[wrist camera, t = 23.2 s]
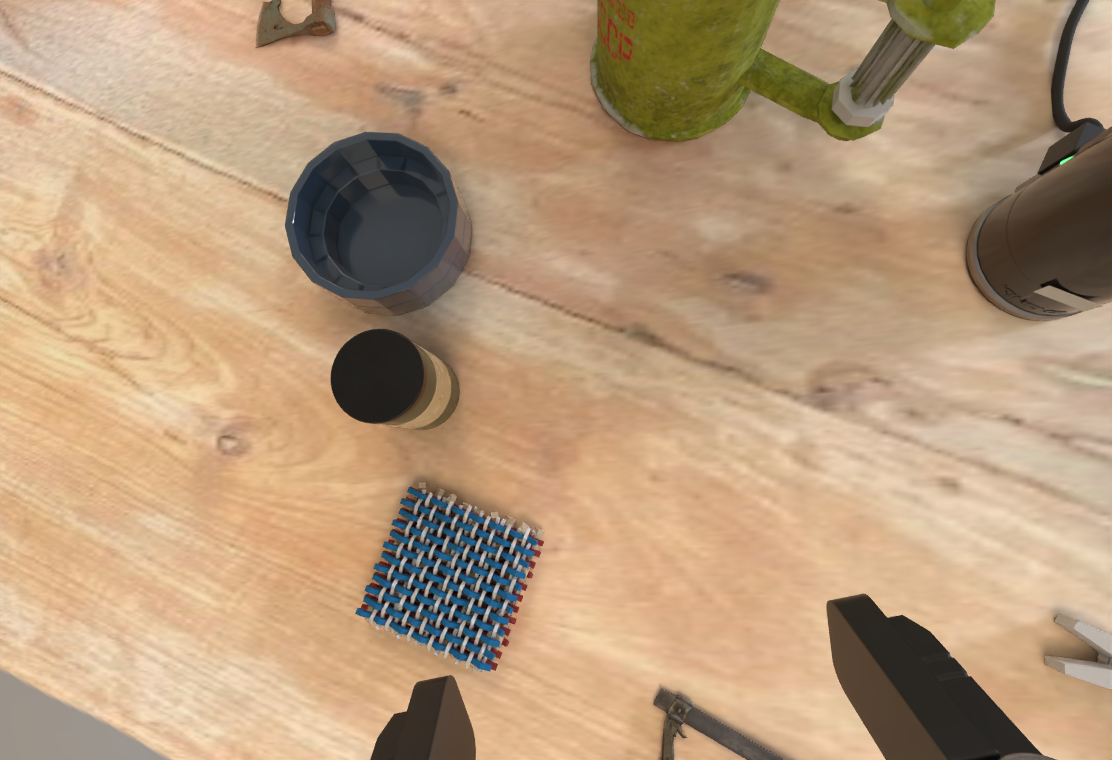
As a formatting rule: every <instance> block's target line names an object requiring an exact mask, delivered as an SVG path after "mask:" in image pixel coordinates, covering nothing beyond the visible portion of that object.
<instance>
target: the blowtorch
mask: <svg viewBox="0 0 1112 760" xmlns="http://www.w3.org/2000/svg"><path fill="white" fill-rule="evenodd" d="M779 1H780V0H598V37H597V39H596V41H595V43H594V46H593V49H592V55H591V62H590V68H591V84H592V86H593V88H594V90H595V92H596V94H597V96H598V98H599V100H600V102H601V104H602V106H603V108H604V110H605V111H606V112H607V113H608V114H609V115H611V116H612V117H613V118H614V119H615V120H616V121H617V122H618V123H619V124H620V125H621V126H622V127H624V128H625V129H626V130H627V131H629V132H632V133H634V134H637V135H639V136H642V137H644V138H647V139H653V140H666V141H683V140H690V139H697V138H698V137H700V136H702V135H704V134H706V133H708V132H710V131H712V130H714V129H716V128H718V127H720V126H722V125H723V124H725V123H726V122H727V121H728V120H730V119H731V118H732V117H733V116H734V115H735V114H736V113H737V112H738V111H739V110H740V109H741V108H742V106H743V104H744V102H745V100H746V98H747V96H748V94H749V92H750V90H752V91H754V92H756V93H758V94H760V95H762V96H764V97H766V98H768V99H770V100H772V101H774V102H775V103H777V104H779V105H781V106H783V107H785V108H787V109H789V110H791V111H793V112H795V113H797V114H798V115H800V116H802V117H804V118H807V119H810V120H813V121H815V122H818V123H819V125H820V126H821V127H822V128H823V129H824V130H825V131H826V132H827V134H828V135H830V136H832V137H834V138H836V139H838V140H843V141H848V140H853V141H854V140H856V139H859V138H862V137H864V136H866V135H869V134H871V133H873V132H875V131H877V130H879V129H881V126H882V123H883V119H884V116H885V114H886V113H887V112H888V111H889V110H890V108H891V107H892V106H893V102H894V94H895V93H896V92H897V90H898V89H899V88H900V87H901V86H902V84H903V83H904V82H905V81H906V80H907V78H908V77H909V76H910V75H911V74H912V72H913V71H914V70H915V69H916V67H917V66H918V65H919V64H920V63H921V61H922V60H923V59H924V58H925V57H926V55H927V54H928V53H929V52H930V50H931V49H932V48H933V47H934V46H935V44H936V45H940V46H944V47H948V48H952V49H954V48H956V47H957V46H959V45H960V44H962V43H964V42H965V41H967V40H968V39H970V38H972V37H973V36H975V35H976V34H978V33H979V32H980V31H981V30H982V29H983V28H984V26H985V25H986V24H987V23H988V22H989V21H990V19H991V18H992V17H993V16H994V9H995V0H879V1H882V2H886V3H887V6H888V10H889V13H890V16H891V18H892V19H891V21H890V22H889V24H888V25H887V27H886V28H885V30H884V31H883V33H882V34H881V36H880V37H879V38H878V40H877V41H876V43H875V44H874V46H873V47H872V49H871V50H870V52H869V53H868V55H867V56H866V58H865V59H864V61H863V62H862V64H861V65H860V67H857V68H856V69H855V70H853V71H852V72H850V73H849V74H848V75H846V76H845V77H843V78H842V79H841V80H840V81H838V82H836V83H834V84H828V83H826V82H824V81H823V80H821V79H819V78H817V77H815V76H813V75H811V74H809V73H807V72H805V71H803V70H801V69H799V68H798V67H796V66H794V65H792V64H790V63H788V62H786V61H784V60H782V59H780V58H778V57H776V56H774V55H772V54H771V53H769V52H767V51H765V50H763V49H761V45H762V43H763V41H764V38H765V36H766V33H767V31H768V28H769V26H770V23H771V21H772V18H773V16H774V13H775V11H776V8H777V6H778V3H779Z"/></svg>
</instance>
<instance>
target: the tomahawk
mask: <svg viewBox="0 0 1112 760" xmlns="http://www.w3.org/2000/svg"><path fill="white" fill-rule="evenodd" d="M279 4H280V0H272V1H271V2H263V5H262V9H261V12H260V15H259V20H258V26H257V35H256V47H260V46H264V45H266V44H269V43H271V42H273V41H276V40H278V39H281V38H284V37H288V36H293V35H302V34H309V35H317V36H323V35H327V34H329V33H333V32H334V31H335V13H334V11H333V10H332V9H331V7H330V0H312V14H310V15H309V16H308V17H307V18H306V19H305V21H304V22H303V23H300V24H291V23H289V22H287V21H286V20H285V19H284V18H283V17H282V15H281V14H280V12H279V10H278V5H279ZM275 26H278V29H275Z"/></svg>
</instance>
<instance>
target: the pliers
mask: <svg viewBox="0 0 1112 760" xmlns="http://www.w3.org/2000/svg"><path fill="white" fill-rule="evenodd" d="M1054 622H1056V623H1057V624H1059V625H1060V626H1062V627H1063V628H1065V629H1066V630H1068V631H1069V632H1070V633H1072V634H1073V635H1075V636H1076V637H1078V638H1079V639H1081V640H1082V641H1084V642H1085V643H1086V644H1088V645H1089V646H1091V647H1092V648H1094V649H1095V650H1096V651H1097V652H1098V654H1099V655H1098V658H1097V662H1093V661H1086V660H1078V659H1071V658H1063V657H1055V656H1048V655H1045V665H1047V666H1049V667H1051V668H1053V669H1055V670H1057V671H1059V672H1062V673H1064V674H1066V675H1069V676H1072V677H1075V678H1078V679H1081V680H1084V681H1087V682H1090V683H1093V684H1096V685H1099V686H1102V687H1105V688H1108V689H1111V690H1112V635H1110V634H1108V633H1106V632H1103V631H1101V630H1099V629H1097V628H1094V627H1092V626H1090V625H1088V624H1085V623H1083V622H1081V621H1079V620H1076V619H1073V618H1070V617H1067V616H1064V615H1061V614H1059V615H1058V616H1057V618H1056V619H1055V621H1054Z"/></svg>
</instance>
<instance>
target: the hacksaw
mask: <svg viewBox="0 0 1112 760" xmlns="http://www.w3.org/2000/svg"><path fill="white" fill-rule="evenodd" d="M654 705H655V706H657V707H659V708H660V709H662V710H664V711H665V712H666V713H667V715H668V717H667V720H666V722H665V726H664V733H663V746H662V758H661V760H674V749H673V740H674V737H676V733H677V731H678V733H679V734H680V735H681V737H682V738H683V739H684V738H687V737H686V736H685V735H684V734H683V733H682V731H681V725H682V724H683V722H684V723H686V724H687V725H689V726H691V727H692V728H694V729H696V730H697V731H699V732H701V733H703V734H704V735H706V736H708V737H709V738H711V739H713V740H714V741H716V742H718V743H719V744H721V745H723V746H725V747H726V748H728V749H730V750H731V751H733V752H735V753H736V754H738V755H740V756H741V757H743V758H745V759H747V760H783V759H782V758H780V757H778V756H777V755H774V754H773V753H771V752H770V751H768V750H765V748H762V747H761V746H759V745H757V744H756V743H753V741H750V739H747V738H745V737H744V736H742V735H741V734H738V732H735V731H733V730H732V729H730V728H729V727H727V726H724V724H721V723H720V722H718V721H717V720H715V719H712V717H710V716H709V715H706V714H704V713H703V712H701V711H700V710H698V709H695V707H693V706H694V704H693V703H692V702H690V701H688V700H687V699H686V698H683V697H682V696H681V695H678V696H677V697H675V696H674V695H672V694H670V693H669V692H667V691H664V690H663V689H662V688H661V690H660V692H659V694H658V696H657V698H656V700H655V702H654Z"/></svg>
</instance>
